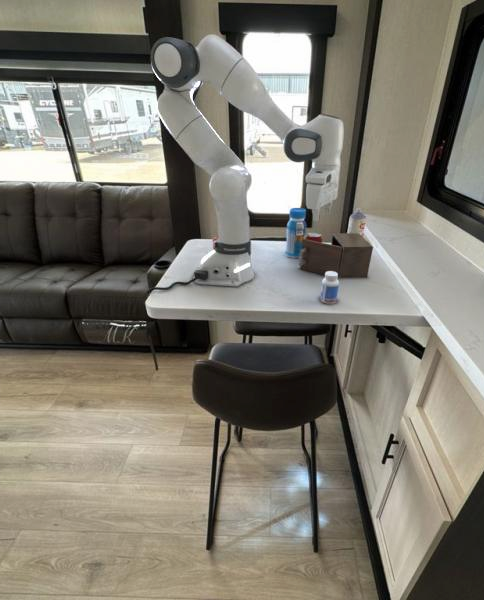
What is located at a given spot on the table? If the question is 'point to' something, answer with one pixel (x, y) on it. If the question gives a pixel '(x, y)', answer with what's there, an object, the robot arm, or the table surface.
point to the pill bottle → (329, 287)
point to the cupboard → (353, 255)
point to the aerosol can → (357, 222)
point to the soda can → (314, 237)
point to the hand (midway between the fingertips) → (321, 217)
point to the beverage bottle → (295, 232)
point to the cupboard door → (319, 257)
